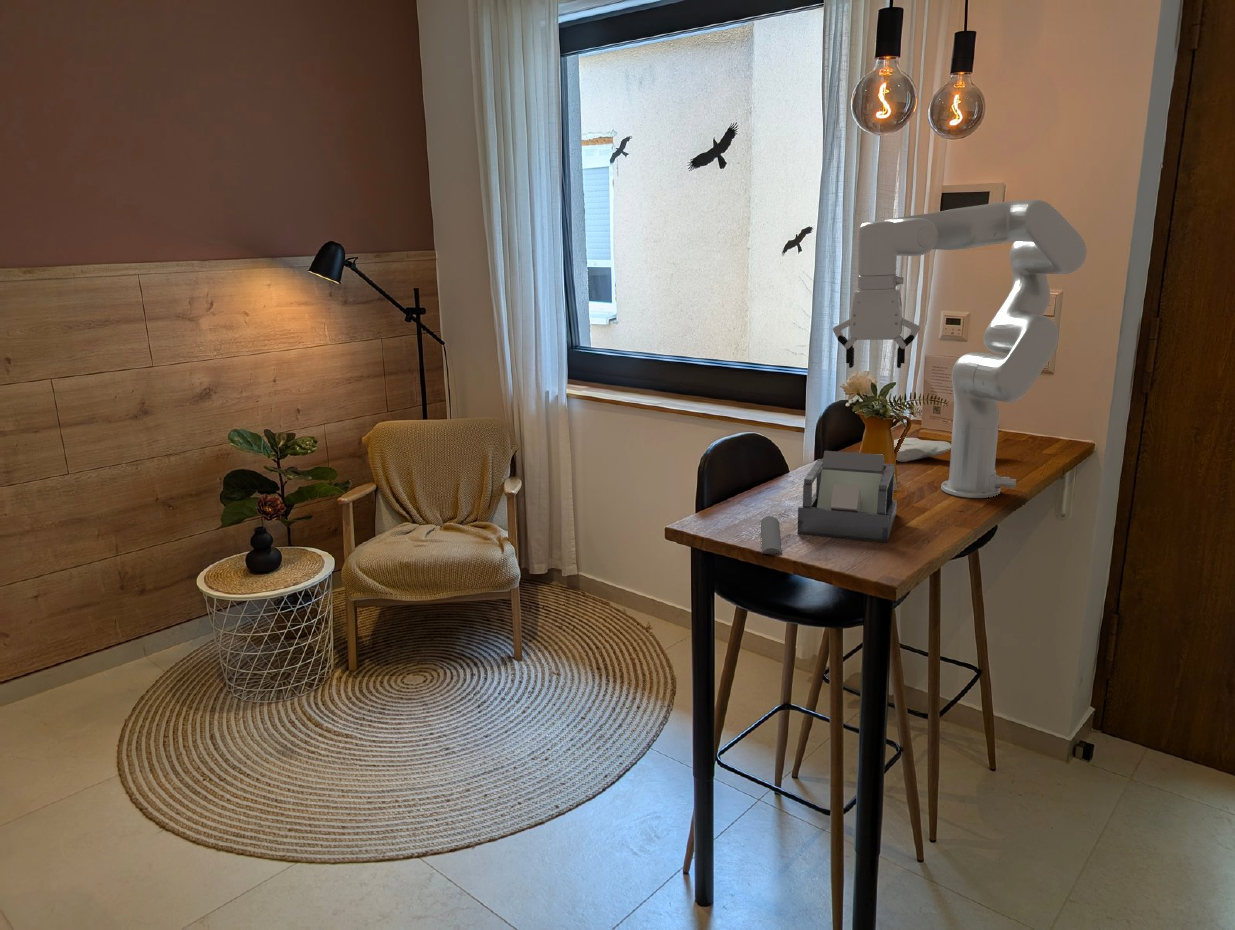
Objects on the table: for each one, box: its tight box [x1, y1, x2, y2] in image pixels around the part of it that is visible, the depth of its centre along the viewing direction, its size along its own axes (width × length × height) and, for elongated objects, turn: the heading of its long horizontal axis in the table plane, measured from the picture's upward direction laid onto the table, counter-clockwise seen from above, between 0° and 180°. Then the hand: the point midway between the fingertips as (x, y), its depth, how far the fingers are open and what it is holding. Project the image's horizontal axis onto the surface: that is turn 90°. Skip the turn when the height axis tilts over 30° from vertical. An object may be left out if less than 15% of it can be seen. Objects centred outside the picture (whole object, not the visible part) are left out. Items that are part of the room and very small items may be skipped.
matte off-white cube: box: [831, 484, 862, 511], centre depth 177 cm, size 5×5×6 cm
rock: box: [893, 437, 952, 463], centre depth 233 cm, size 21×5×15 cm
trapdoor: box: [817, 450, 886, 513], centre depth 182 cm, size 12×13×2 cm
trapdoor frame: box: [797, 458, 898, 543], centre depth 182 cm, size 17×19×11 cm
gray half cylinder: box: [760, 515, 783, 555], centre depth 176 cm, size 4×20×2 cm, turn 172°
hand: (875, 366), depth 186 cm, fingers open, 9 cm apart
